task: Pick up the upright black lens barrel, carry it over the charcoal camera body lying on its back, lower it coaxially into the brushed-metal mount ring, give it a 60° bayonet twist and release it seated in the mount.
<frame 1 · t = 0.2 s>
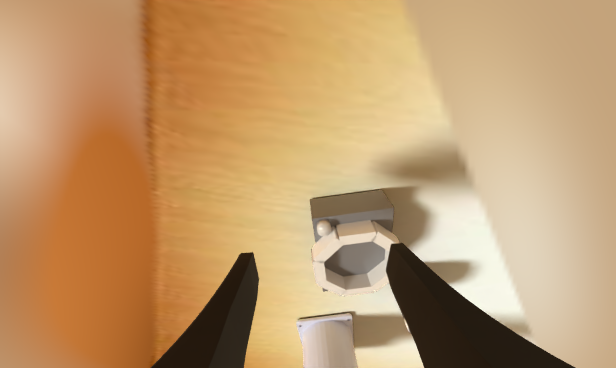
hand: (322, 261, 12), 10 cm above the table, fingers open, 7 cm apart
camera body: (347, 233, 24), on the table
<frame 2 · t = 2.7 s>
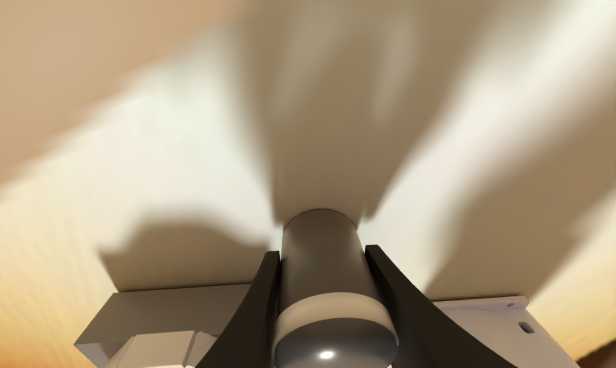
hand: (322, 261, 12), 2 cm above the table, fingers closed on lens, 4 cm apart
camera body: (205, 318, 16), on the table
lens: (319, 239, 13), on the table, touching gripper
when the fingers open (5 cm above the table, at t = 7.0 s): lens stays where it is, resting on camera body.
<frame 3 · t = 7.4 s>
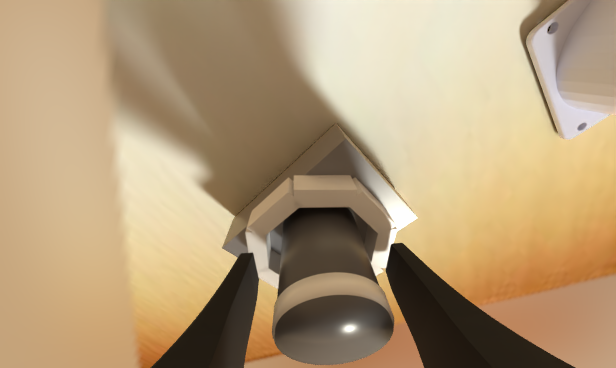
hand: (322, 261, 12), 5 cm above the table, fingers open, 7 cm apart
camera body: (314, 205, 16), on the table
lens: (319, 228, 13), point 3 cm above the table, touching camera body
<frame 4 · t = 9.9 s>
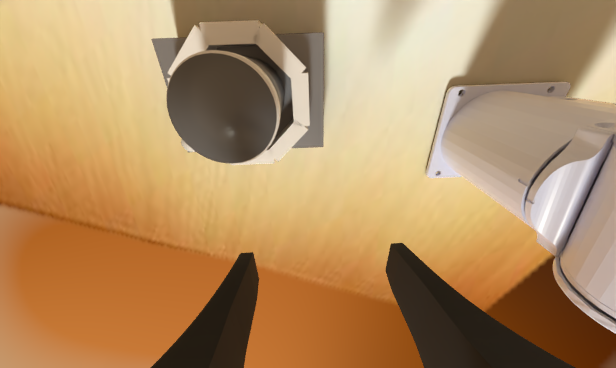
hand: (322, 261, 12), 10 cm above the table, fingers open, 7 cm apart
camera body: (256, 93, 17), on the table
lens: (251, 95, 14), point 3 cm above the table, touching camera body
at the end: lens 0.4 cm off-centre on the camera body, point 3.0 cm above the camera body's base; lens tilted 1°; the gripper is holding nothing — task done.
